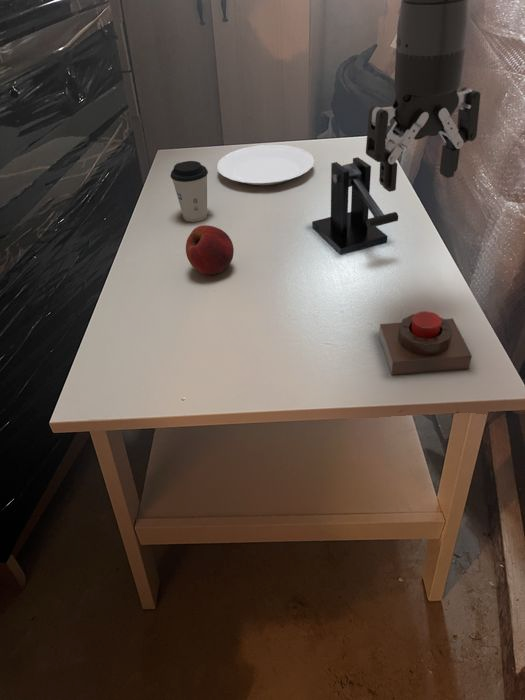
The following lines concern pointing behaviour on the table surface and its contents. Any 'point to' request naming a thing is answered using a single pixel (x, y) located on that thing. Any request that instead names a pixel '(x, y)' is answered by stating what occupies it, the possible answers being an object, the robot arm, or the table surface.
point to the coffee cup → (191, 189)
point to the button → (426, 325)
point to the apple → (209, 249)
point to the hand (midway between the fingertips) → (418, 182)
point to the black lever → (368, 199)
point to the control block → (423, 348)
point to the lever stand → (348, 213)
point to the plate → (265, 164)
